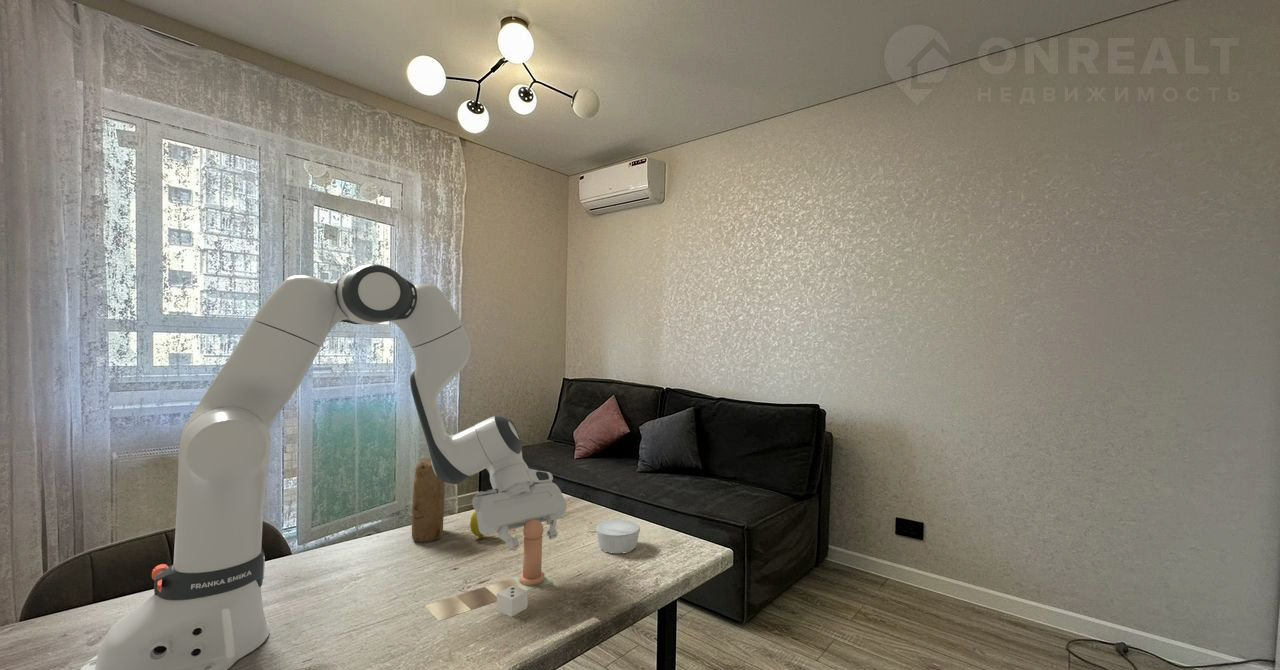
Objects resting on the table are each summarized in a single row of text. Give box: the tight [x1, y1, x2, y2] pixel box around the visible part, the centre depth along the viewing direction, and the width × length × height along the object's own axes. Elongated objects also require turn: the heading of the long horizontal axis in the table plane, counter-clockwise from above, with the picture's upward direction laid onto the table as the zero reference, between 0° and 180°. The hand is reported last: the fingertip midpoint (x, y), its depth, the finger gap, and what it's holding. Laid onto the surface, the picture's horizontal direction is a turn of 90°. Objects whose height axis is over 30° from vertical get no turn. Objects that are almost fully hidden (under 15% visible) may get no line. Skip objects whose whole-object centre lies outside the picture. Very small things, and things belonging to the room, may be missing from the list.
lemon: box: [469, 510, 485, 539], centre depth 132 cm, size 6×6×8 cm
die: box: [495, 586, 529, 618], centre depth 95 cm, size 4×4×4 cm
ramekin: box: [595, 519, 641, 554], centre depth 128 cm, size 11×11×5 cm
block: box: [411, 457, 446, 543], centre depth 133 cm, size 11×8×20 cm
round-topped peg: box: [518, 520, 545, 586], centre depth 107 cm, size 5×5×13 cm
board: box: [424, 575, 554, 622], centre depth 101 cm, size 24×7×1 cm, turn 132°
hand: (534, 542), depth 106 cm, fingers open, 8 cm apart
